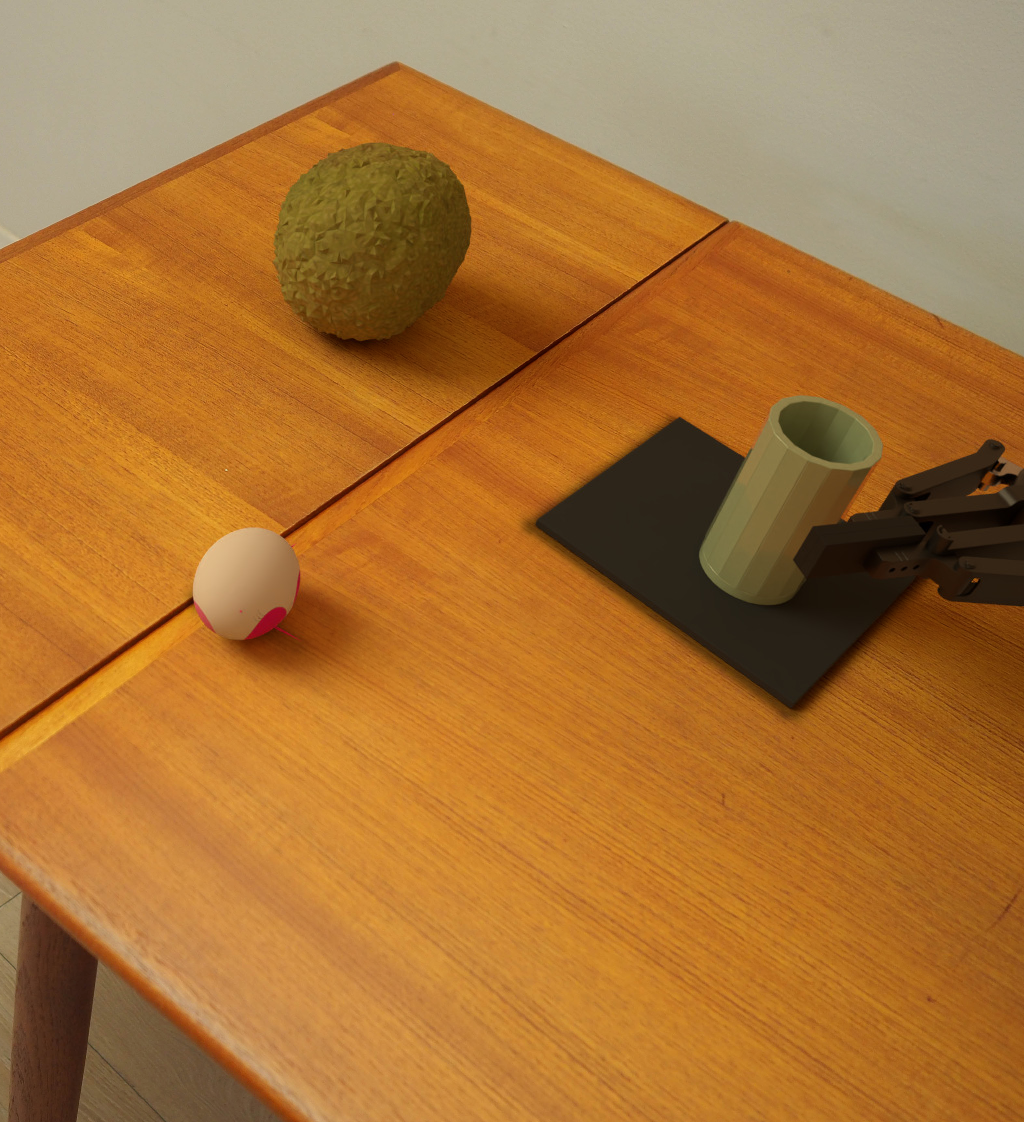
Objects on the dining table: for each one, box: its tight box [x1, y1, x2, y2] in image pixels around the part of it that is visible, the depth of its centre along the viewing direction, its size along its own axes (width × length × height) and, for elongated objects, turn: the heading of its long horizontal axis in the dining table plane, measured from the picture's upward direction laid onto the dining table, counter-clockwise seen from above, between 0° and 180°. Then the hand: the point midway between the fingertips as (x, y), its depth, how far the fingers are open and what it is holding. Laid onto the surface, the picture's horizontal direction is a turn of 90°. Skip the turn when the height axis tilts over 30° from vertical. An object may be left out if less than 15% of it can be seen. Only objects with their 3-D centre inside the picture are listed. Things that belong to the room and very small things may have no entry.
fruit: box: [271, 142, 472, 342], centre depth 96 cm, size 16×14×15 cm
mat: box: [534, 416, 918, 709], centre depth 87 cm, size 20×18×1 cm
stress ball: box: [192, 526, 302, 642], centre depth 76 cm, size 8×8×7 cm
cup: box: [699, 394, 884, 605], centre depth 81 cm, size 7×7×12 cm
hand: (809, 552), depth 71 cm, fingers closed
